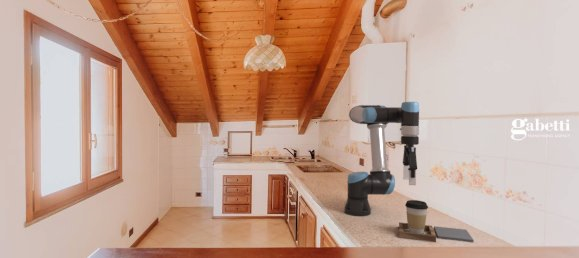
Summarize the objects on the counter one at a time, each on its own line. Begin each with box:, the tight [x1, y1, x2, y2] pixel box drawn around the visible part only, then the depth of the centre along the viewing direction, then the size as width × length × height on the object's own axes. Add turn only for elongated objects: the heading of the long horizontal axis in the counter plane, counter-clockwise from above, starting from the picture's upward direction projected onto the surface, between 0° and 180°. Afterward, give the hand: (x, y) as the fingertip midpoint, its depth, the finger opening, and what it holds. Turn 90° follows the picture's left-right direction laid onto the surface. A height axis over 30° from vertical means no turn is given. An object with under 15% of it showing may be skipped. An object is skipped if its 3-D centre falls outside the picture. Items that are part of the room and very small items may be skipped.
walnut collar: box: [398, 222, 437, 243], centre depth 141 cm, size 15×15×2 cm
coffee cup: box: [404, 199, 429, 234], centre depth 141 cm, size 10×10×15 cm
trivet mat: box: [433, 226, 474, 243], centre depth 140 cm, size 14×14×1 cm
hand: (409, 182), depth 137 cm, fingers open, 13 cm apart
